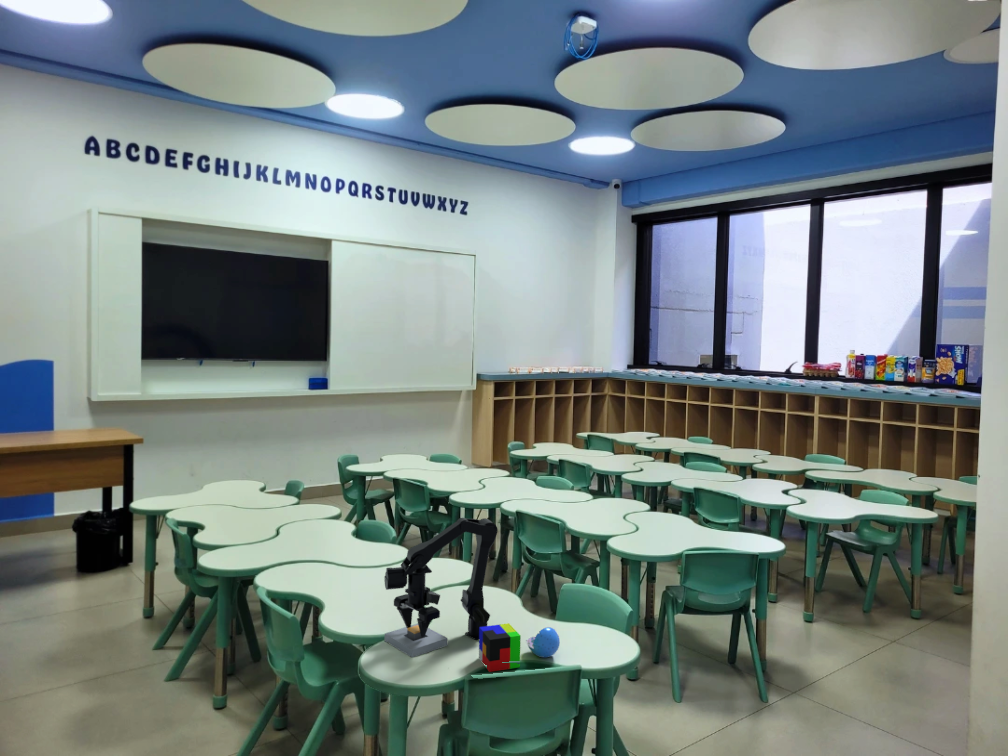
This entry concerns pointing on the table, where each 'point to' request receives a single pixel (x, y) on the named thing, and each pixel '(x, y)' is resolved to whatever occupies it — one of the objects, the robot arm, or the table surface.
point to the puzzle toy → (499, 646)
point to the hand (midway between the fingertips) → (416, 632)
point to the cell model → (544, 643)
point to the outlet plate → (418, 646)
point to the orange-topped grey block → (414, 633)
